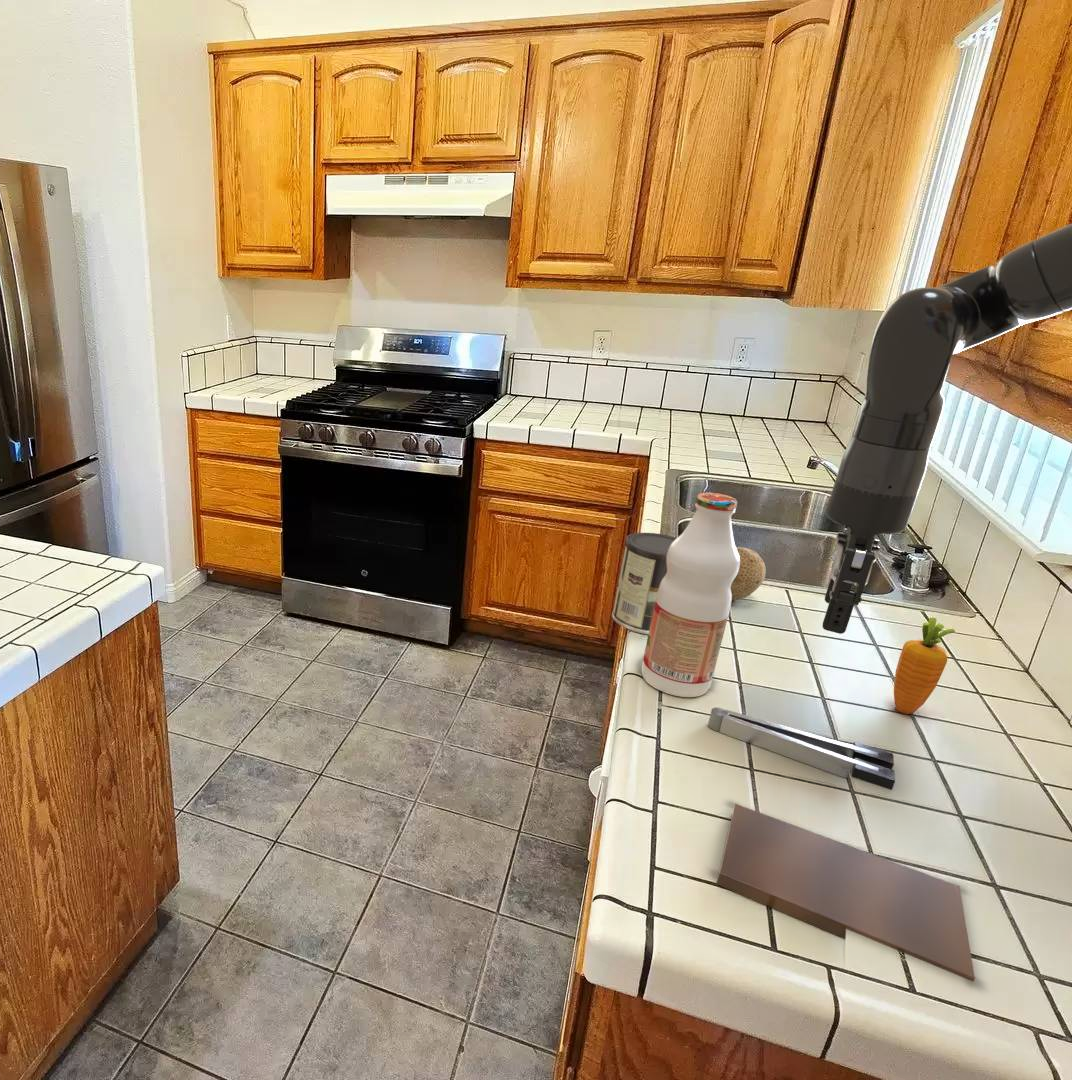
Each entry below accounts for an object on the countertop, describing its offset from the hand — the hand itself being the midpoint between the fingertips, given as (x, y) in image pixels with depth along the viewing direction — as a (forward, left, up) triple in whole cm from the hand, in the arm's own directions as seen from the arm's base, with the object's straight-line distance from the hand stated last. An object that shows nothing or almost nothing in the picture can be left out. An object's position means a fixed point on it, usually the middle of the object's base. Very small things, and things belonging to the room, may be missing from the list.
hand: (833, 616), depth 87 cm
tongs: (0, -1, -19) cm, 19 cm away
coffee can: (+24, -27, -20) cm, 41 cm away
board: (-5, +22, -19) cm, 30 cm away
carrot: (-12, -19, -20) cm, 30 cm away
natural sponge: (+13, -46, -20) cm, 51 cm away
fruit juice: (+15, -10, -20) cm, 27 cm away
